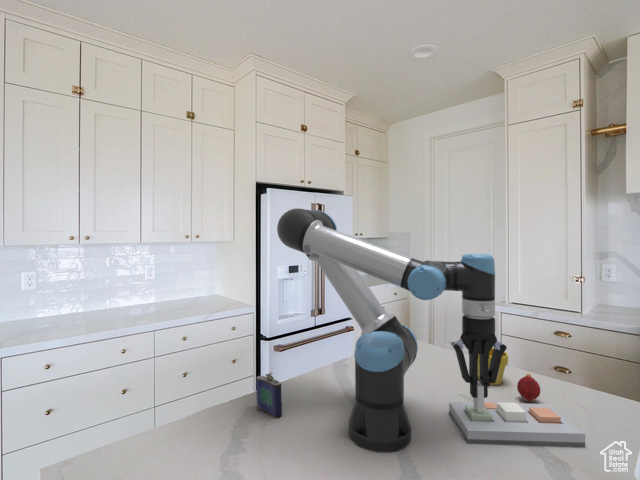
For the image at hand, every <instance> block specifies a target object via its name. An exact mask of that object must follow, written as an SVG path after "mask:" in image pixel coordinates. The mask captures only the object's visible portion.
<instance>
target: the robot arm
mask: <svg viewBox="0 0 640 480" xmlns="http://www.w3.org/2000/svg"><path fill="white" fill-rule="evenodd" d="M337 228H338V227H337V224H336V222H335V220H334V219H333V218H332V216H330V215H329V214H328V213H326V212H324V211H322V210H321V211H320V210H316V209H314V210H310V209H304V208H292V209H289V210H287V211H286V212H284V213H283V214H282V215H281V216H280V218H279V220H278V222H277V226H276V230H277V236H278V238H279V240H280V242H281V243H282V244H283V245H285V246H286V247H288V248H289V249H292V250H295V251H298V252H301V253H304V254H305V255H306V257H307V258H308V260H309V261H313V262H316V263H317V265H318V266H319V267H320V269H321V270H322V272H323V273H324V275H325V277H326V278H327V280H328V281H329V283H330V284H331V286H333V289H334V290H335V291H336V293H337V294H338V296H339V298H340V299H341V300H342V303H344V305H345V307H346V308H347V310H348V311H349V313H350V314H351V315H352V317H353V319H354V320H355V322H357V324H358V326H359V327H360V329H361V333H360V336H359V337H358V338H357V340H356V342H355V349H354V369H355V370H354V375H355V377H354V379H355V380H354V381H355V384H354V385H355V386H354V387H355V391H354V392H355V395H354V396H355V399H354V400H355V401H354V404H353V406H352V409H351V412H350V413H351V414H350V416H349V420H348V423H347V425H348V427H347V428H348V429H347V430H348V435H349V438H350V440H351V441H352V442H354V443H355V444H356V445H357V446H359V447H362V448H363V449H366V450H369V451H373V452H381V453H384V452H385V453H387V452H388V453H390V452H396V451H400V450H401V449H404V448H406V447H407V446H409V445H410V443H411V441H412V425H411V422H410V419H409V416H408V412H407V409H406V406H405V402H404V401H405V397H404V396H405V384H404V383H405V375H406V374H407V371H408V370H409V368H410V367H411V366H412V365H413V363H414V362H415V361H416V357H417V353H418V349H419V348H418V346H419V345H418V344H419V343H418V341H417V337H416V335H415V334H414V332H413V331H412V330H411V329H410V328H409V327H408V326H406V325H404V324H401V322H400V320H399V319H398V318H397V316H396V315H395V314H393V313H388V312H387V311H386V310H385V309H384V307H383V306H382V305H381V303H380V301H379V300H378V299H377V297H376V295H375V294H374V292H373V291H372V290H371V288H370V287H369V286H368V284H367V283H366V281H365V280H364V278H363V277H362V275H361V274H360V273H359V272H362V273H364V274H366V275H368V276H372V277H374V278H377V279H379V280H382V281H383V282H387V283H389V284H392V285H394V286H397V287H398V288H402V289H403V290H406V291H409V292H410V293H411V294H412V296H414V297H415V298H417V299H419V300H421V301H430V300H433V299H436V298H438V297H440V296H441V295H442V293H443V292H444V291H449V292H452V291H453V292H461V305H462V306H461V313H462V314H463V316H462V317H461V326H462V327H461V332H462V333H461V335H460V337H459V339H458V340H457V341H452V342H451V347H452V348H453V350H454V351H455V355H456V358H457V363H458V366H459V370H460V374H461V378H462V379H463V381H464V382H465V383H467V384H469V394H470V396H471V397H472V398H473V402H474V408H475V409H476V411H477V412H479V413H484V402H485V399H487V398H488V391H489V390H488V389H489V387H490V383H495V382H496V379H497V375H498V371H499V367H500V363H501V358H502V355H503V353H504V352H506V350H507V348H508V347H507V345H505V344H504V343H503V342H500V341H498V338H497V335H496V319H495V317H494V316H495V315H496V294H495V293H496V270H495V268H496V267H495V258H494V257H493V255H491V254H486V253H464V254H463V255H462V256H461V260H460V261H440V260H439V261H437V260H419V259H416V258H414V257H411V256H407V255H405V254H402V253H400V252H397V251H394V250H391V249H389V248H386V247H383V246H379V245H377V244H374V243H371V242H368V241H366V240H363V239H361V238H358V237H355V236H352V235H350V234H347V233H344V232H340V231H338V229H337ZM464 346H465V348H466V349H467V350H468V366H467V362H466V357H465V355H464V354H465V353H464V351H463V350H464ZM492 348H494V350H493V354H492V358H491V362H490V366H489V370H488V358H489V351H490V350H491V349H492ZM478 354H479V362H480V380H479V376H478Z"/></svg>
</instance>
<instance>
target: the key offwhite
mask: <svg viewBox="0 0 640 480" xmlns="http://www.w3.org/2000/svg"><path fill="white" fill-rule="evenodd" d="M496 403H497V414H498V415H499V416H500V417H501V418H502V419H503V421H504V422H520V423H526V412H525V411H524V410H523V409H522V408H521V407H520V406H519V405H518V404H519V403H517V402H496Z"/></svg>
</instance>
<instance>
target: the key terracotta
mask: <svg viewBox="0 0 640 480" xmlns="http://www.w3.org/2000/svg"><path fill="white" fill-rule="evenodd" d="M529 414H530V415H531V416H532V417H533V418H534V419H535V420H537V421H538V422H539V423H558V424H561V417H559V416H558V415H557V414H556V413H555V412H553V411H552V410H551V409H550V408H540V407H529Z"/></svg>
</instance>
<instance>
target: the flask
mask: <svg viewBox="0 0 640 480" xmlns="http://www.w3.org/2000/svg"><path fill="white" fill-rule="evenodd" d="M272 375H273V372H269V373H265V376H264V375H258V376H256V377H255V378H256V380H255V385H256V392H255V393H256V401H255V402H256V406H255V407H256V410H257V411H259V412H262V413H263V414H266V415H268V416H271V417H272V418H274V419H281V418H282V416H283V409H282V408H283V406H282V382H280V381H278V380H277V379H275V377H274V376H272ZM280 417H281V418H280Z"/></svg>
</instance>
